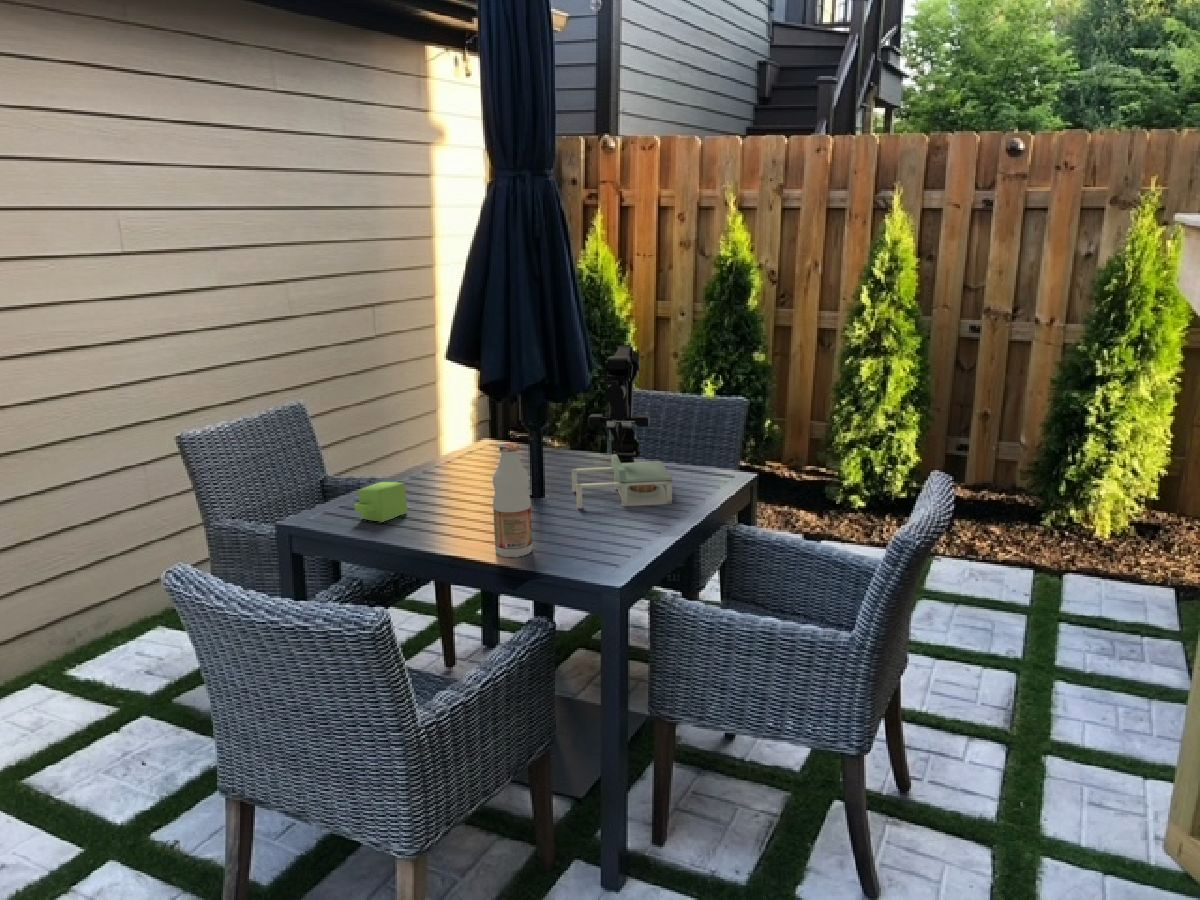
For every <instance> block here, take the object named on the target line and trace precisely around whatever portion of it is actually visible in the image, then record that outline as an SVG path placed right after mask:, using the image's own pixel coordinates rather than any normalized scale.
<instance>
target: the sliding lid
mask: <svg viewBox="0 0 1200 900" xmlns="http://www.w3.org/2000/svg"><path fill="white" fill-rule="evenodd" d="M610 456H611V460H610V461H611V467H612V468H613V470H614V471H613V472H615V474H616V476H617V479H618V481H619V482H641V481H662V480H672V481H673V476H672V475H671V473H670V472H669V470H668V469H667V468H666V466H665V465H664V463H663V462H662V460H661V461H659V460H658V461H643V462H642V461H639V462H634V463H621V462H620V460H619V458H618V456H617V454H613V455H612V454H611V455H610Z"/></svg>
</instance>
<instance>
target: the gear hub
mask: <svg viewBox="0 0 1200 900" xmlns="http://www.w3.org/2000/svg"><path fill="white" fill-rule="evenodd" d="M653 490H654V485H633V491H638V492H650V491H653Z"/></svg>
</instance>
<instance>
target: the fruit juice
mask: <svg viewBox="0 0 1200 900" xmlns="http://www.w3.org/2000/svg"><path fill="white" fill-rule="evenodd" d="M498 450H499V453H500V457H499V462H498V465H497V467H496V470H495V472H494V473H493V476H492V486H493V488H494V495H493V498H492V509H493V511H492V512H493V528H494V529H493V531H494V549H495V553H496V555H498V556H499V555H500V557H502V556H504V557H503V558H508V557H515V558H520V557H519V556H522V557H524V555H526V556H527V554H528V555H529V553H530V552H532V551H533V533H532V530H533V529H532V509H531V508H532V505H531V504H532V503H531V496H530V493H529V489H528V488H529V484H530V477H529V474H528V472H527V470H526V469H525V468H524V466H523V464H522V462H521V459H520V458H521V457H520V456H519V452H520V445H519V444H518V443H512V442H510V443H503V444H500V445H499V449H498ZM530 554H531V553H530Z"/></svg>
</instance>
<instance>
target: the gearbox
mask: <svg viewBox="0 0 1200 900" xmlns="http://www.w3.org/2000/svg"><path fill="white" fill-rule="evenodd" d="M358 501H359V502H358V503H355V504H353V507H354V512H359V513H360V519H361V518H365V519H370V520H376V521H381V522H380V523H382V522H384V521H386V520H389V519H391V518H394V517H397V516H399V515H401V514H404V513H406V512H407V513H408V505H407V504H408V503H407V492H406V484H405V483H404V482H395V481H394V482H393V481H380V482H378V483H377V482H376V483H375V484H371V485H368V486H365V487H363V488H360V489H358ZM384 523H385V522H384Z"/></svg>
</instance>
